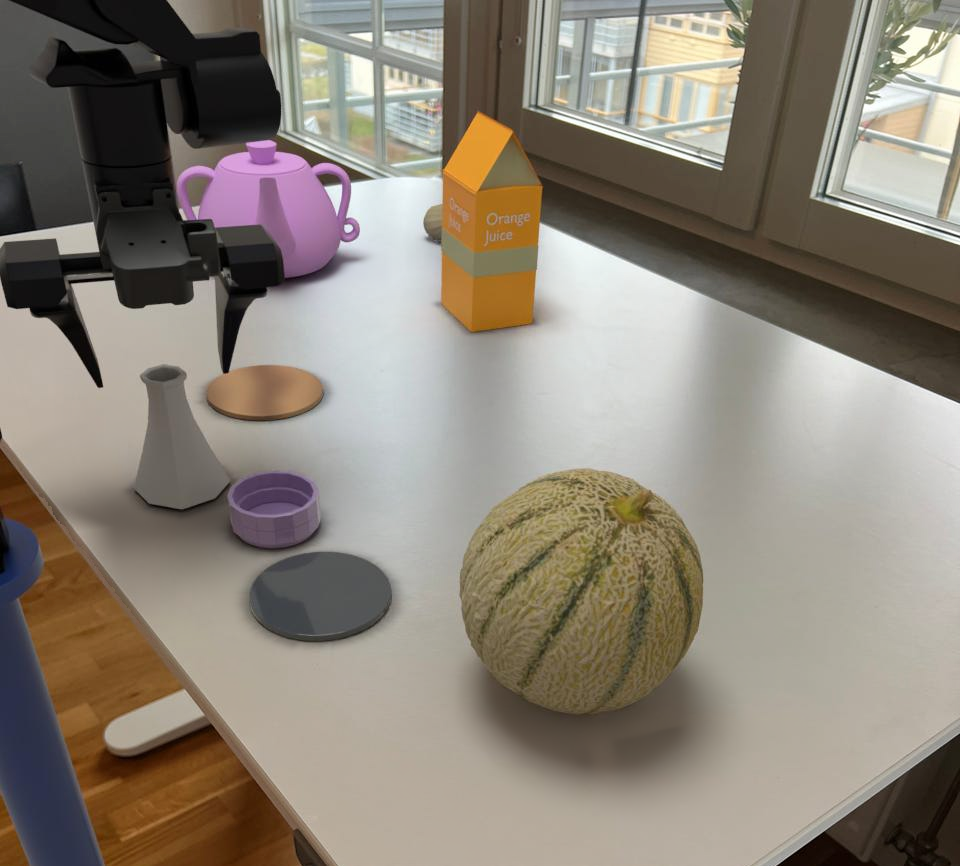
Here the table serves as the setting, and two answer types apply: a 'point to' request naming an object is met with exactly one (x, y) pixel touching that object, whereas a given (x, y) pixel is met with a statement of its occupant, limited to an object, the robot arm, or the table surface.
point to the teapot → (276, 203)
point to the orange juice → (490, 229)
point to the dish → (274, 508)
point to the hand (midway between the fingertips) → (163, 378)
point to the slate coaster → (320, 596)
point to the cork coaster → (264, 392)
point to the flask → (175, 447)
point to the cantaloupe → (581, 591)
